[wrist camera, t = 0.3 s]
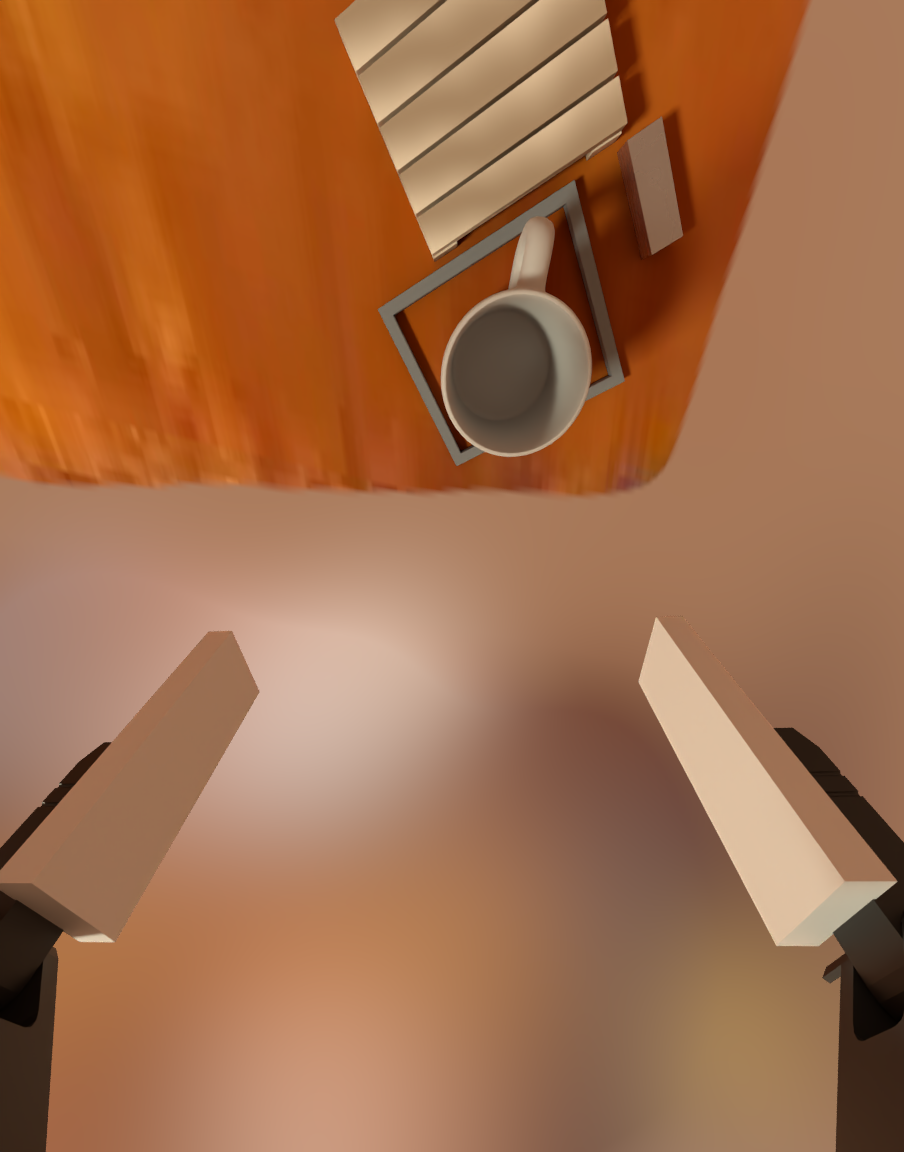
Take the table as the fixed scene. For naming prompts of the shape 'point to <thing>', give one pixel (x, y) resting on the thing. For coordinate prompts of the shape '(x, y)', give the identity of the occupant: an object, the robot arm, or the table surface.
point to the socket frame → (553, 203)
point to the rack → (483, 98)
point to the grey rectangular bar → (650, 189)
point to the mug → (518, 359)
